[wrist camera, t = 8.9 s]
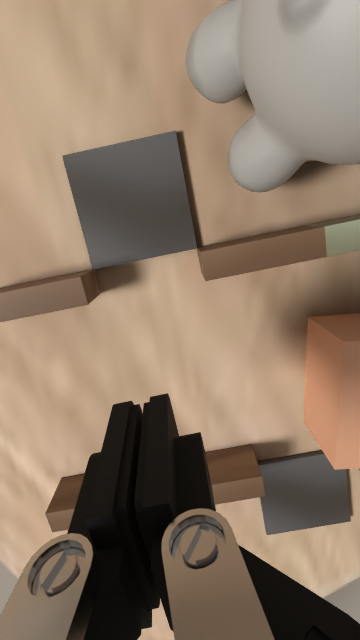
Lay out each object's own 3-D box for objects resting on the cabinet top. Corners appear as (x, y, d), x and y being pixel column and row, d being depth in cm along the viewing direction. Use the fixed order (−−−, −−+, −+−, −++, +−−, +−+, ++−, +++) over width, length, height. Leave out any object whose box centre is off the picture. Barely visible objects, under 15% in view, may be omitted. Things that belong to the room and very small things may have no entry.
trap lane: (-44, 181, 15) (-85, 173, 13) (457, 70, 14) (513, 39, 12) (90, 559, 21) (79, 602, 19) (449, 500, 20) (486, 537, 18)
